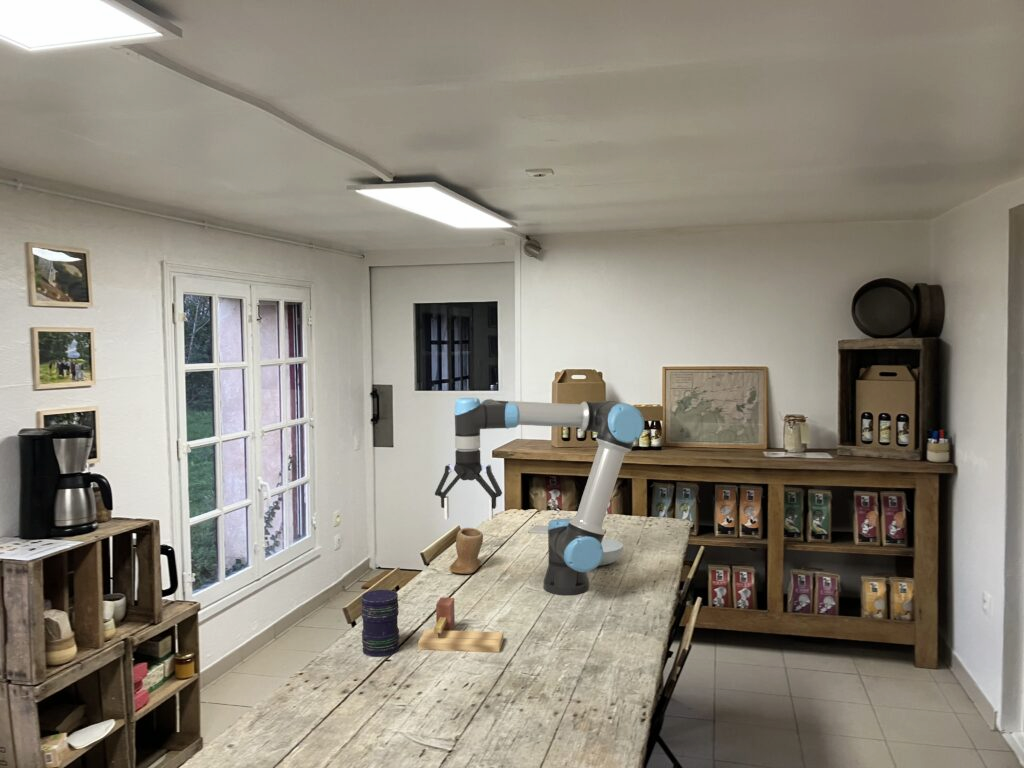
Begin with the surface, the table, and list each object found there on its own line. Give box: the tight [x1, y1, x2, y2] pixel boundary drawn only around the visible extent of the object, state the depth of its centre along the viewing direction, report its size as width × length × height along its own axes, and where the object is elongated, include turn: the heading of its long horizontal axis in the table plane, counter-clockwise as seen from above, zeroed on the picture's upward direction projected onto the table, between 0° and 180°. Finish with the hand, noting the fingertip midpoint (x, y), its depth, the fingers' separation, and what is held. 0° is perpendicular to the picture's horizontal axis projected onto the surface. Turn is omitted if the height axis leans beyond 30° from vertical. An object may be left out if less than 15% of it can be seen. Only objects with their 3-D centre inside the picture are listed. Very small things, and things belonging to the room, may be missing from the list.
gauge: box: [433, 597, 456, 636], centre depth 222 cm, size 4×14×9 cm, turn 173°
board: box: [417, 629, 504, 653], centre depth 218 cm, size 22×9×2 cm, turn 83°
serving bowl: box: [597, 537, 624, 567], centre depth 293 cm, size 21×21×7 cm
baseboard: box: [527, 522, 607, 535], centre depth 336 cm, size 31×3×12 cm
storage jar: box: [360, 589, 400, 658], centre depth 214 cm, size 10×10×15 cm
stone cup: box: [448, 527, 484, 575], centre depth 285 cm, size 15×12×15 cm
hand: (468, 518), depth 241 cm, fingers open, 13 cm apart
